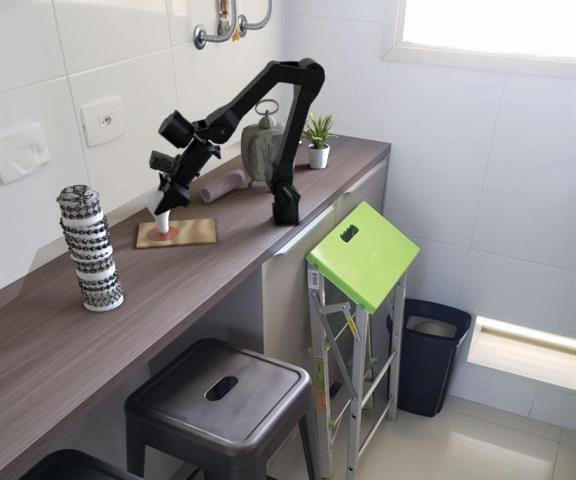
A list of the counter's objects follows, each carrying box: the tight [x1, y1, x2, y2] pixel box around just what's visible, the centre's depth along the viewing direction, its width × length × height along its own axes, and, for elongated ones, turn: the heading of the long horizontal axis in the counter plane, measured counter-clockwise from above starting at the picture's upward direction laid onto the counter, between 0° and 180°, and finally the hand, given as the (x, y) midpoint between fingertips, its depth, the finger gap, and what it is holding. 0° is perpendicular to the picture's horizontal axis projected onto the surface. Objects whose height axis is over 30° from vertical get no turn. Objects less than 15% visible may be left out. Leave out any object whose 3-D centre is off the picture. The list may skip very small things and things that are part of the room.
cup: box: [298, 119, 309, 147], centre depth 206 cm, size 8×7×8 cm
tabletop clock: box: [240, 98, 296, 189], centre depth 169 cm, size 14×9×25 cm, turn 108°
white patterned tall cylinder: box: [55, 184, 124, 313], centre depth 121 cm, size 9×9×25 cm
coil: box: [199, 168, 246, 204], centre depth 174 cm, size 5×5×18 cm
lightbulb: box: [146, 190, 171, 234], centre depth 150 cm, size 6×6×11 cm
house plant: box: [301, 111, 338, 170], centre depth 187 cm, size 14×14×16 cm
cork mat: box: [135, 217, 217, 249], centre depth 154 cm, size 20×14×1 cm
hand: (154, 209), depth 149 cm, fingers closed on lightbulb, 6 cm apart
